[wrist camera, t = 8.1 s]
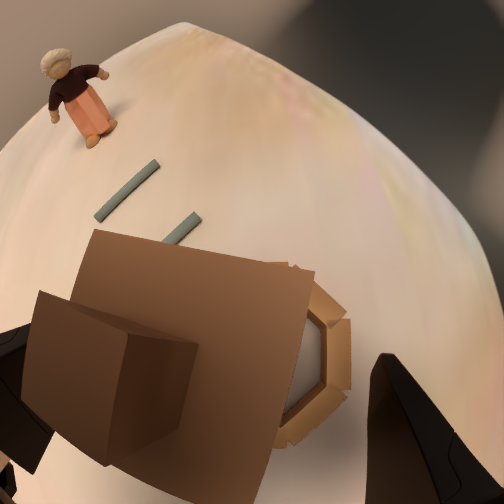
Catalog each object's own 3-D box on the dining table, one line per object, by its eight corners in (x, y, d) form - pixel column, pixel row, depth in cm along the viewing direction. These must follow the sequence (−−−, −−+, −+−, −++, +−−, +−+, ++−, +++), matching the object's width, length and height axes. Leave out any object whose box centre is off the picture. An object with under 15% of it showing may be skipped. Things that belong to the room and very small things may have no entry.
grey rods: (131, 289, 18) (126, 287, 17) (91, 224, 20) (86, 220, 20) (210, 214, 19) (207, 208, 18) (156, 163, 22) (152, 157, 21)
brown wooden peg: (280, 391, 14) (220, 590, 1) (221, 376, 15) (-20, 423, 1) (294, 333, 15) (333, 206, 2) (235, 320, 16) (33, 180, 3)
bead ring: (254, 462, 13) (249, 478, 10) (149, 348, 16) (129, 346, 14) (374, 351, 14) (388, 350, 12) (258, 244, 18) (254, 227, 15)
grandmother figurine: (88, 159, 24) (21, 79, 12) (75, 150, 25) (16, 79, 13) (136, 110, 25) (88, 24, 14) (119, 105, 27) (74, 29, 15)
